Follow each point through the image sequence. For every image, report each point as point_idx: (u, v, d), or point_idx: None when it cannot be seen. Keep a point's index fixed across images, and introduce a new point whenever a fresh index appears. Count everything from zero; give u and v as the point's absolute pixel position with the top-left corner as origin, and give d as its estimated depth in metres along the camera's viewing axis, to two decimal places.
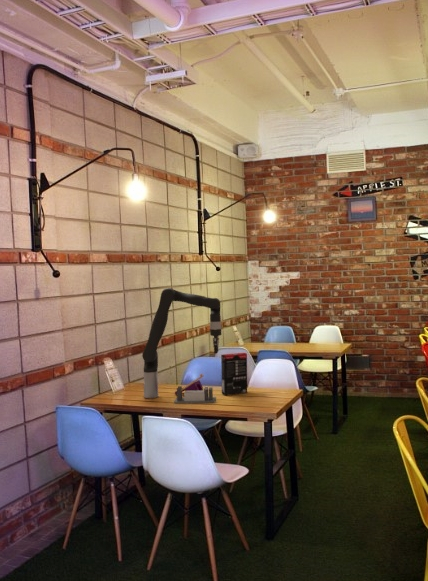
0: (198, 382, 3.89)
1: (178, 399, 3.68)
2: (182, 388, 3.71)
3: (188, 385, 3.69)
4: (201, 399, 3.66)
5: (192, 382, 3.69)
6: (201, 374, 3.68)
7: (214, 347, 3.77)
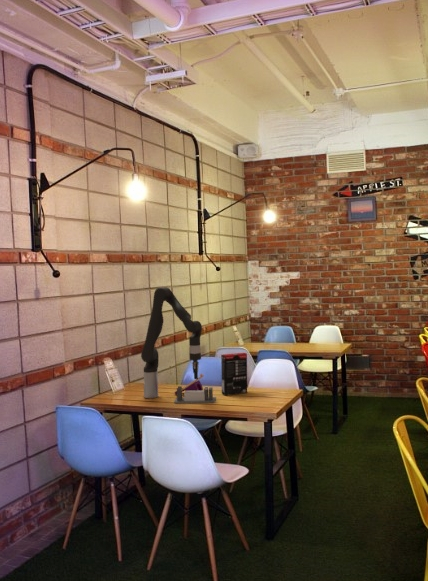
0: (198, 382, 3.89)
1: (178, 399, 3.68)
2: (182, 388, 3.71)
3: (188, 385, 3.69)
4: (201, 399, 3.66)
5: (192, 382, 3.69)
6: (201, 374, 3.68)
7: (194, 372, 3.68)
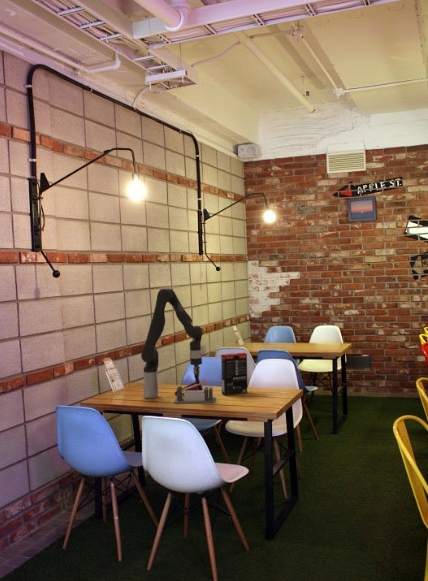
0: None
1: (178, 399, 3.68)
2: (183, 389, 3.71)
3: (189, 387, 3.69)
4: (201, 399, 3.66)
5: (194, 385, 3.68)
6: (204, 380, 3.68)
7: (195, 377, 3.68)
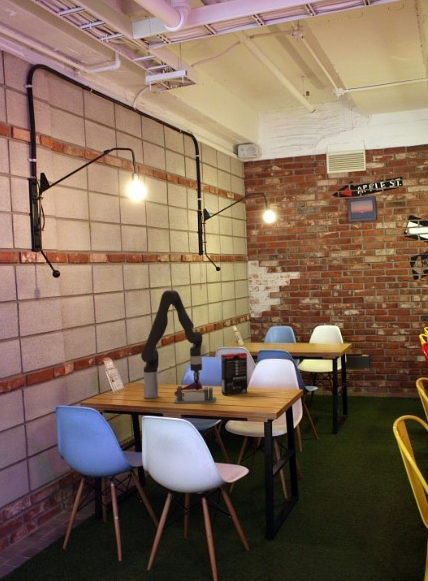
0: None
1: (178, 399, 3.68)
2: (183, 390, 3.71)
3: (190, 390, 3.69)
4: (201, 399, 3.66)
5: (195, 390, 3.69)
6: (207, 387, 3.68)
7: None
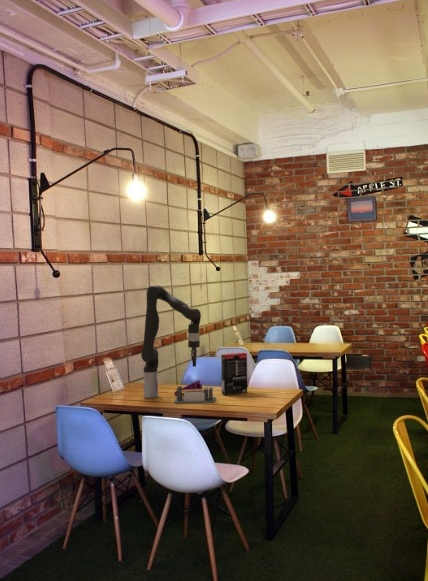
0: (198, 382, 3.88)
1: (178, 399, 3.68)
2: (183, 390, 3.71)
3: (190, 390, 3.69)
4: (201, 399, 3.66)
5: (195, 390, 3.69)
6: (207, 387, 3.68)
7: (192, 360, 3.70)
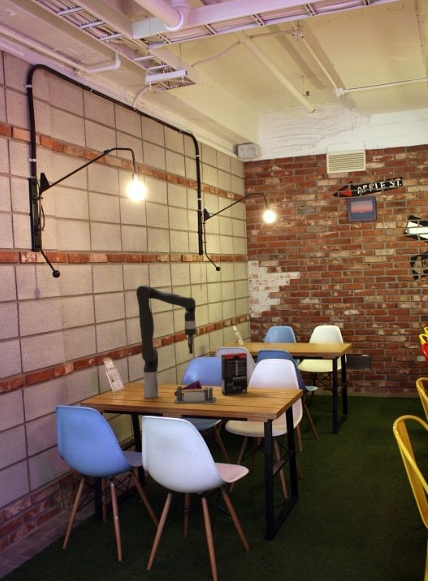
0: (197, 382, 3.88)
1: (178, 399, 3.68)
2: (183, 390, 3.71)
3: (190, 390, 3.69)
4: (201, 399, 3.66)
5: (195, 390, 3.69)
6: (207, 387, 3.68)
7: None
